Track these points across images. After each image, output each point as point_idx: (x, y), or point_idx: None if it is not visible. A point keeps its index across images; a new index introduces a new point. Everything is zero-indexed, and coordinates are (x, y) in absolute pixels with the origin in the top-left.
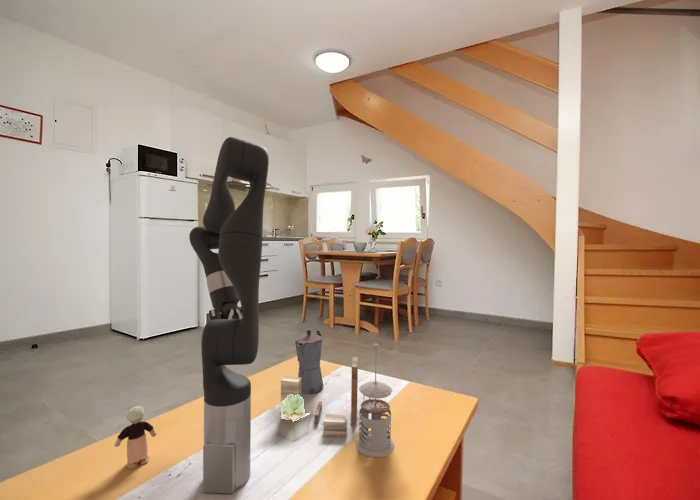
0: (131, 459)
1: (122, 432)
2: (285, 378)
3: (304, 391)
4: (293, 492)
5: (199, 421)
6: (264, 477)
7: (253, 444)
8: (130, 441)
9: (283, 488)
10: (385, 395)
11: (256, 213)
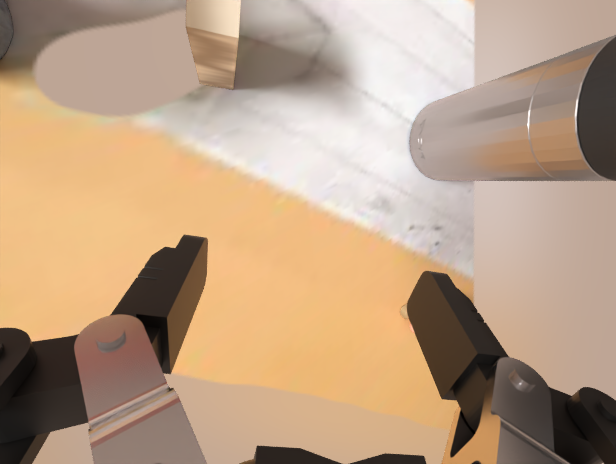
0: None
1: None
2: (213, 18)
3: (9, 30)
4: (470, 5)
5: (276, 300)
6: (439, 71)
7: (349, 128)
8: None
9: (462, 27)
10: None
11: None
